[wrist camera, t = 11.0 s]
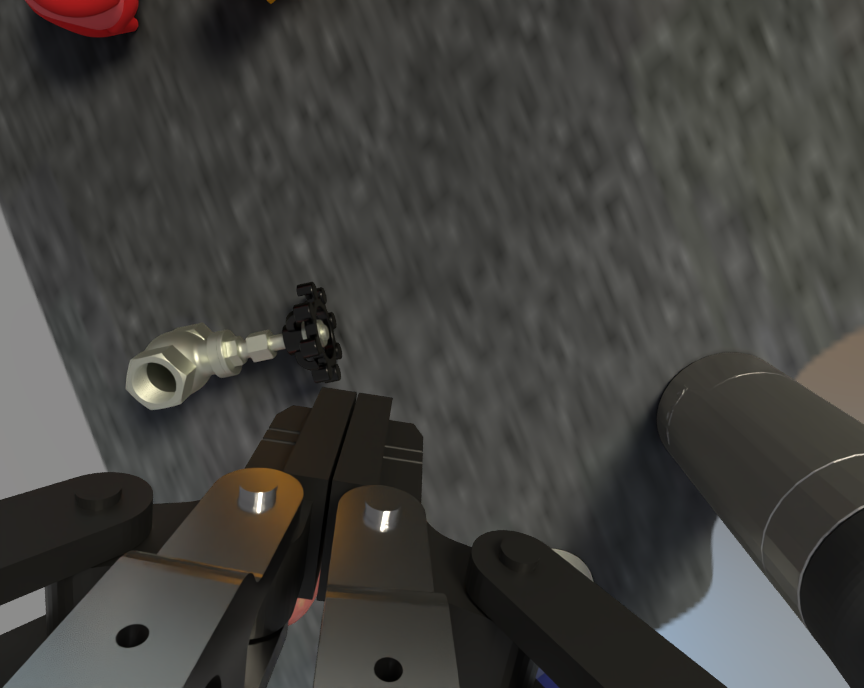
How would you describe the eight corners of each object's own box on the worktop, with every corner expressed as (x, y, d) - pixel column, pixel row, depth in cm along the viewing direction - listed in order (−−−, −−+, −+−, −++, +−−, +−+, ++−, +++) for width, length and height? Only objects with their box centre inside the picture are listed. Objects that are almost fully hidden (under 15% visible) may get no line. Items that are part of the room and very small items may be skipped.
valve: (186, 395, 42) (348, 362, 41) (142, 439, 35) (332, 400, 35) (152, 308, 40) (322, 271, 39) (99, 338, 33) (300, 294, 32)
